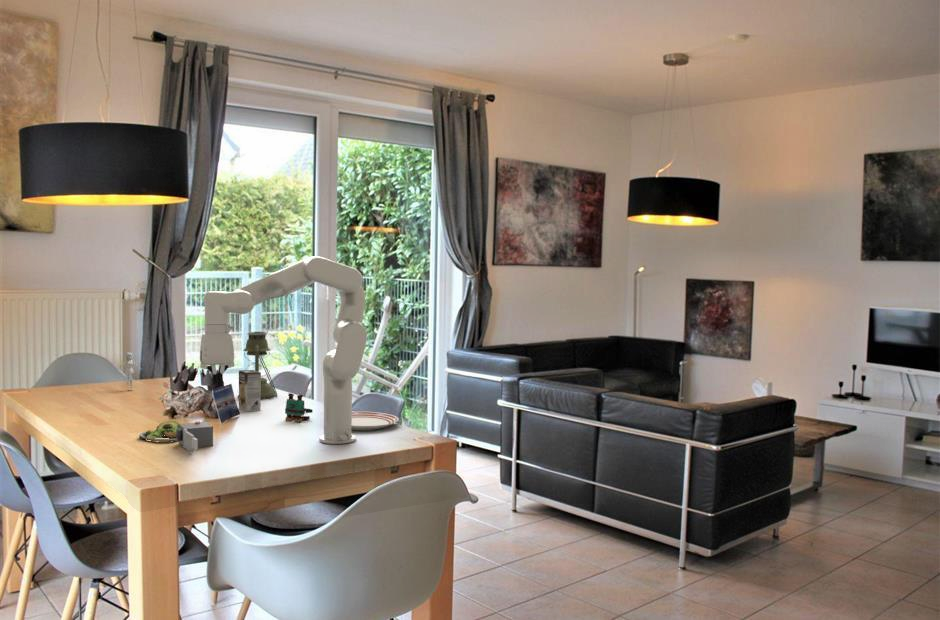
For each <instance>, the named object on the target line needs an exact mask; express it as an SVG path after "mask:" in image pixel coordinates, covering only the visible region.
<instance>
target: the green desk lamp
mask: <svg viewBox="0 0 940 620" xmlns="http://www.w3.org/2000/svg"><path fill="white" fill-rule="evenodd" d="M267 334H269V332H268V331H249V332H248V333H247V334H246V336H247V335H248V339H247V340H246V343H245V348H243V350H242V351H243V352H244V355H243V356H244V357H245V359H247V360H248V361H249V362H251V360H250V359H248V358H247V357H246V355H247V356H252V357H253V356H254V362H251V364H249V365H248V367H249V366H251V365H253V364H254V367H255V368H254V370H255V371H258V372H260V371H259V370H260V367H262V368H263V369H264V371H265V374H264V375H261V401H263V400H264V401H265V400H271V398H272V399H274V397H275V398H277V397H278V393H277V390H276V387H275V384H274V382H273V379H272V377H271V376H270V370H269V369H268V368H267V365H266V363H265V361H264V359H265V358H267V357H269V356H270V355H271V353H270V351H271V349H270V348H269V345H268V340H267V339H266V335H267ZM245 353H246V354H245ZM268 353H269V354H268ZM266 355H267V356H266ZM263 356H266V357H263ZM259 361H260V362H259ZM260 363H261V365H260ZM265 376H266V377H267V378H265ZM268 381H269V382H268ZM237 398H238V399H239V394H238V395H237Z"/></svg>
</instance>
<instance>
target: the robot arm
mask: <svg viewBox="0 0 940 620" xmlns="http://www.w3.org/2000/svg"><path fill="white" fill-rule="evenodd" d="M363 282H364V278H363V276H362V273H361V272H360V271H359V269H357V268H355V267H351V266H349V265H346V264H343V263H340V262H337V261H333V260H331V259H328V258H325V257H322V256H310V257H307V258H304V259H302V260H299V261H297V262H295V263H292V264H291V265H289V266H287V267H284V268H282V269H280V270H276V271H274V272H272V273H271V274H268V275H267V276H265V277H263V278H259V279H258V280H255V281H253V282H251V283H248V284H246V285H243V286H241V287H239V288H236V289H235V290H233V291H232V292H231V291H230V292H227V291H224V290H223V291H222V290H218V291H217V290H215V291H214V290H211V291H207V292H205V294H204V333H202V334H201V338H200V344H199V345H200V348H199V362H200V365H199V368H201V369H203V370H208V371H209V372H210V373H211V378H212V379H211V380H212V381H211V384H212V385H213V386H214V387H222V384H223V383H224V381H223V380H224V378H223V376H224V374H225V372H226V371H227V369H231V368H233V367H235V362H234V361H235V348H234V341H233V336H232V335H233V334H232V332H231V331H232V330H234V329H235V325H232V324H231V323H230V314H236V315H237V314H240V315H245V314H248V313H250V312H252V311H253V309H254V308H255V306H258V305H259V304H261V303H264V302H267V301H269V300H273V299H278V298H283V297H285V296H288V295H290V294H293V293H295V292H297V291H299V290H301V289H303V288H306V287H308V286H310V285H312V284H315V283H318V284H322V285H324V286H327V287H330V288H332V289H335V290H336V291H337V292H338V293H339V297H340V303H339V304H340V305H339V310H338V313H337V318H336V322H335V325H334V327H333V328H334V329H333V333H332V335H333V336H332V337H333V339H334V340H333V341H334V342H335V343H336V349H333V350H330V351H328V352H327V353H326V355H325V356H324V358H323V361H322V373H323V374H322V375H323V385H324V386H323V401H324V402H323V435H321V436H319V439H318V440H319V442H321V443H324V444H330V445H342V444H343V445H345V444H350V443H353V442H356V440H357V436H356V435H355V434H353V432H352V431H353V430H352V412H353V411H352V410H353V383H352V379H354V377H356V376H357V374H358V373H359V370H360V368H361V366H362V365H361V364H362V360H363V356H364V354H365V349H366V346H367V341H368V340H367V339H368V334H367V330H366V328H365V326H364V325H363V319H364V314H365V310H366V309H365V308H366V295H365V291H364V287H363ZM216 365H217V366H218V369H217V368H216V367H217V366H216Z"/></svg>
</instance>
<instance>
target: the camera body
mask: <svg viewBox="0 0 940 620" xmlns="http://www.w3.org/2000/svg"><path fill="white" fill-rule="evenodd" d="M178 424H179V430H177V431H176V438H177V441H178V442H179V444H180V446H181V447H182V448H184V429H187V431H188V432H189V433H191V434H192V435H194V437H195V438H196V439H198V448H202V447H203V448H204V446H206V447H214V426H213V425H212V424H211V423H209V422H208V421H194V422H186V423H178Z"/></svg>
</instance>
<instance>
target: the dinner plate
mask: <svg viewBox="0 0 940 620" xmlns="http://www.w3.org/2000/svg"><path fill="white" fill-rule="evenodd" d="M399 421H400V419H399V417H398V416H397V415H392V414H389V413H385V412H378V411H377V412H376V411H352V431H375V430H380V429H383V428H386V427H388V426H391V425H394V424H396V423H398V422H399Z"/></svg>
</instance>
